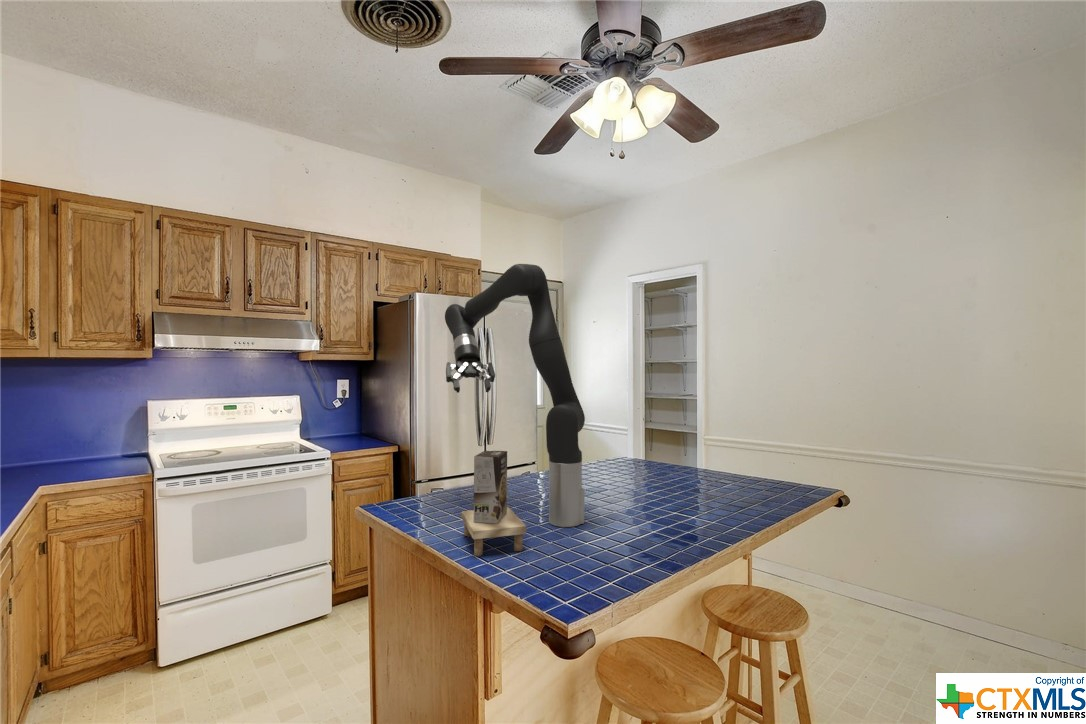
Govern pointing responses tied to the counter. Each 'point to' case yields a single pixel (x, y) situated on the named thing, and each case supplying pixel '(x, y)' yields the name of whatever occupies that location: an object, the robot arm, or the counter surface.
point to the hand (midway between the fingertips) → (473, 390)
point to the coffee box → (490, 486)
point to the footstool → (494, 530)
